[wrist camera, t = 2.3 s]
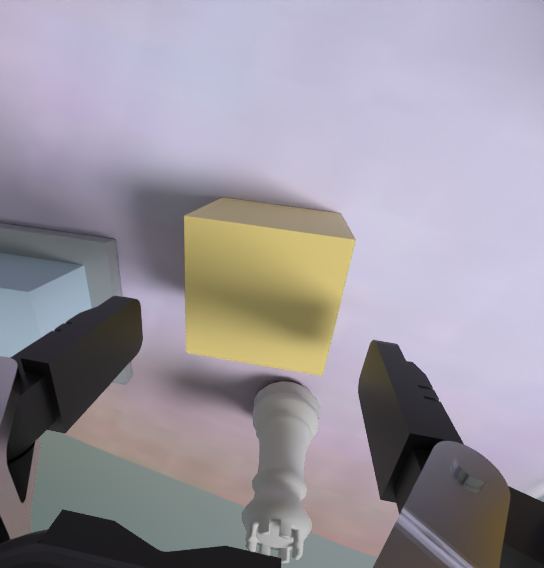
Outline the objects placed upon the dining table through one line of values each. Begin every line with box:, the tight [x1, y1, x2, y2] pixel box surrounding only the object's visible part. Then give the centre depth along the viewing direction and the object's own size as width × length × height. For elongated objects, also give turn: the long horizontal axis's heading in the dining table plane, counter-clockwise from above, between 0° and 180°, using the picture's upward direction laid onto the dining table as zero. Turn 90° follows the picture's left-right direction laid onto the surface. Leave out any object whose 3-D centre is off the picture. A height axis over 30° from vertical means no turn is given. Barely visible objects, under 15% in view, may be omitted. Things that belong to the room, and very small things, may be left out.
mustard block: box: [184, 197, 356, 376], centre depth 13 cm, size 6×6×5 cm
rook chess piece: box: [242, 381, 320, 563], centre depth 16 cm, size 4×4×8 cm
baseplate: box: [0, 223, 132, 385], centre depth 17 cm, size 10×10×4 cm
